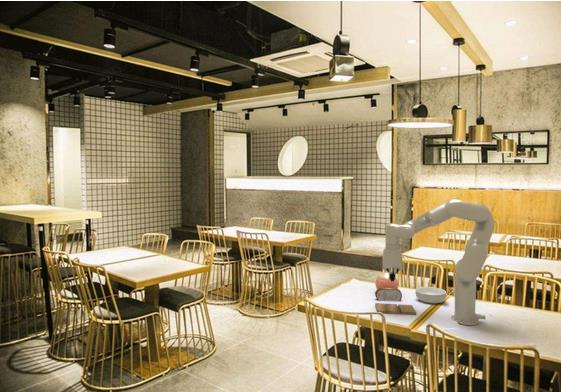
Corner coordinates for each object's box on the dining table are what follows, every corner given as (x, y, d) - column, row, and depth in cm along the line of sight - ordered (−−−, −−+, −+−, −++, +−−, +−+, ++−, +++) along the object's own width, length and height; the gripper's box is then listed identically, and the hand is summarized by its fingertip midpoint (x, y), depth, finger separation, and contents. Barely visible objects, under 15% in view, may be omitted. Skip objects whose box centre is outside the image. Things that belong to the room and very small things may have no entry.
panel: (396, 306, 222) (396, 304, 222) (399, 314, 210) (399, 311, 210) (375, 305, 223) (375, 303, 223) (377, 313, 211) (377, 310, 211)
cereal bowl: (427, 296, 245) (427, 284, 245) (452, 303, 231) (452, 291, 231) (408, 301, 236) (409, 289, 235) (433, 309, 222) (433, 296, 221)
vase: (371, 294, 249) (372, 266, 248) (380, 289, 260) (380, 262, 259) (393, 298, 241) (393, 269, 240) (401, 292, 252) (401, 265, 251)
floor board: (412, 309, 221) (412, 304, 221) (417, 317, 208) (417, 312, 208) (371, 307, 224) (371, 302, 224) (374, 315, 211) (374, 310, 211)
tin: (401, 301, 234) (401, 287, 234) (402, 303, 231) (402, 289, 231) (374, 300, 236) (375, 286, 235) (375, 302, 233) (375, 288, 232)
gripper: (405, 245, 217) (405, 279, 218) (377, 245, 219) (377, 278, 220) (408, 248, 210) (408, 283, 211) (379, 247, 212) (378, 282, 213)
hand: (392, 280), depth 215 cm, fingers closed
